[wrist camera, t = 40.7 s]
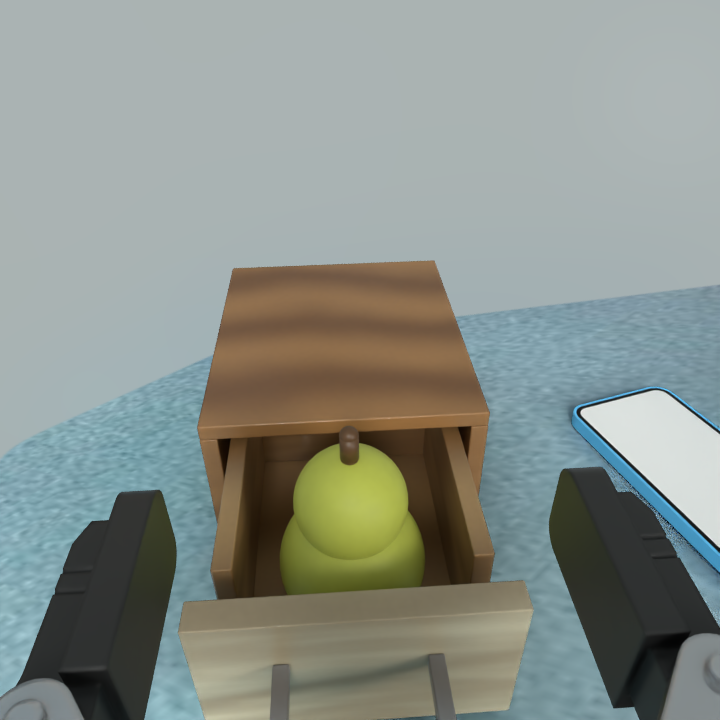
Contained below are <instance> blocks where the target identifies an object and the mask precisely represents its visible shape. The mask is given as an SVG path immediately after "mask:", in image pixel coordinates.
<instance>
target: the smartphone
mask: <svg viewBox="0 0 720 720" xmlns="http://www.w3.org/2000/svg"><path fill="white" fill-rule="evenodd" d="M572 425H573V427H574V428H575V429H576V430H577V431H578V432H579V433H580V434H581V435H582V436H583V437H584V438H585V439H586V440H587V441H588V442H589V443H590V444H591V445H592V446H593V447H594V448H595V449H596V450H597V451H598V452H599V453H600V454H601V455H602V456H603V457H604V458H605V459H606V460H607V461H608V462H609V463H610V464H611V465H612V466H613V467H614V468H615V469H616V470H617V471H618V472H619V473H620V474H621V475H622V476H623V477H624V478H625V479H626V480H627V481H628V482H629V483H630V484H631V485H632V486H633V487H634V488H635V489H636V490H637V491H638V492H639V493H640V494H641V495H642V496H643V497H644V498H645V499H646V500H647V501H648V502H649V503H650V504H651V505H652V506H653V507H654V508H655V509H656V510H657V511H658V512H659V513H660V514H661V515H662V516H663V517H664V518H665V519H666V520H667V521H668V522H669V523H670V524H671V525H672V526H673V527H674V528H675V529H676V530H677V531H678V532H679V533H680V534H681V535H682V536H684V537H685V538H686V539H687V540H688V541H689V542H690V543H691V544H692V545H693V546H694V547H695V548H696V549H697V550H698V551H699V552H700V553H701V554H702V555H703V556H704V557H705V558H706V559H707V560H708V561H709V562H710V563H711V564H712V565H713V566H714V567H715V568H716V569H717V570H718V571H719V572H720V428H718V427H717V426H716V425H714V424H713V423H712V422H710V421H709V420H708V419H707V418H705V417H704V416H703V415H701V414H700V413H699V412H697V411H696V410H695V409H694V408H692V407H691V406H690V405H688V404H687V403H686V402H684V401H683V400H682V399H680V398H679V397H678V396H677V395H675V394H674V393H673V392H671V391H669V390H667V389H665V388H661V387H647V388H643V389H639V390H635V391H631V392H628V393H624V394H620V395H616V396H612V397H608V398H604V399H601V400H597V401H593V402H589V403H585V404H581V405H578V406H577V407H575V409H574V411H573V416H572Z"/></svg>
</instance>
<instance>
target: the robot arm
mask: <svg viewBox="0 0 720 720" xmlns="http://www.w3.org/2000/svg"><path fill="white" fill-rule="evenodd" d="M549 532H550V540H551V544H552V548H553V551H554V553H555V556H556V559H557V561H558V564H559V567H560V569H561V572H562V574H563V577H564V580H565V582H566V585H567V588H568V590H569V593H570V595H571V598H572V601H573V603H574V606H575V608H576V611H577V614H578V616H579V619H580V622H581V624H582V627H583V629H584V632H585V635H586V637H587V640H588V643H589V645H590V648H591V650H592V653H593V656H594V658H595V661H596V664H597V666H598V669H599V671H600V674H601V677H602V679H603V682H604V685H605V687H606V690H607V692H608V695H609V698H610V700H611V703H612V706H613V708H625V707H635V710H636V712H637V715H638V717H639V720H720V627H719V626H718V624H717V622H716V620H715V619H714V617H713V615H712V613H711V612H710V610H709V608H708V606H707V605H706V603H705V601H704V600H703V598H702V596H701V594H700V593H699V591H698V589H697V587H696V586H695V584H694V582H693V580H692V579H691V577H690V575H689V573H688V572H687V570H686V568H685V566H684V565H683V563H682V561H681V559H680V558H678V557H677V552H676V551H675V549H674V547H673V545H672V544H671V542H670V540H669V539H667V538H666V533H665V532H664V530H663V528H662V526H661V525H660V523H659V521H658V519H657V518H656V516H655V514H654V512H653V511H652V510H651V509H650V508H649V507H648V506H647V505H645V504H644V503H643V502H642V501H641V500H640V499H639V498H638V497H636V496H635V495H634V494H633V493H632V492H617V490H616V489H615V487H614V485H613V483H612V481H611V479H610V477H609V475H608V474H607V472H606V471H605V469H603V468H602V467H587V468H569V469H563V470H562V471H561V474H560V477H559V481H558V485H557V490H556V494H555V498H554V502H553V506H552V510H551V515H550V520H549ZM176 557H177V551H176V541H175V537H174V533H173V529H172V526H171V522H170V519H169V515H168V512H167V508H166V505H165V501H164V498H163V494H162V492H161V491H160V490H149V491H131V492H121V493H119V494H118V496H117V498H116V500H115V503H114V506H113V509H112V512H111V515H110V518H109V520H104V521H92V522H91V523H90V524H89V525H88V526H87V527H86V529H85V530H84V531H83V532H82V533H81V534H80V536H79V537H78V538H77V539H76V540H75V541H74V543H73V544H72V546H71V549H70V551H69V554H68V557H67V559H66V562H65V564H64V567H63V574H61V575H60V578H59V580H58V583H57V585H56V588H55V595H53V596H52V598H51V601H50V604H49V606H48V609H47V612H46V614H45V617H44V619H43V622H42V625H41V627H40V630H39V632H38V635H37V638H36V640H35V643H34V646H33V648H32V651H31V653H30V656H29V659H28V661H27V664H26V666H25V669H24V672H23V674H22V676H21V678H20V680H19V682H18V683H17V685H16V686H15V687H14V688H12V689H11V690H9V691H8V692H6V693H5V694H4V695H2V696H1V697H0V720H144V718H145V713H146V708H147V703H148V699H149V694H150V689H151V684H152V680H153V675H154V670H155V665H156V660H157V656H158V651H159V646H160V641H161V636H162V632H163V627H164V622H165V617H166V613H167V608H168V603H169V598H170V593H171V589H172V584H173V579H174V574H175V569H176Z"/></svg>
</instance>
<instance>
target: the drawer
mask: <svg viewBox="0 0 720 720" xmlns="http://www.w3.org/2000/svg"><path fill="white" fill-rule="evenodd" d="M358 433H359V443H361V444H366V445H369V446H372V447H374V448H376V449H378V450H380V451H381V452H383V453H384V454H386V455H387V456H388V457H389V458H390V459H391V460H392V461H393V462H394V463H395V464H396V466H397V467H398V468H399V470H400V472H401V474H402V476H403V478H404V480H405V483H406V487H407V492H408V511H409V512H410V514H411V515H412V516H413V518H414V520H415V521H416V523H417V526H418V528H419V530H420V533H421V536H422V540H423V544H424V549H425V570H424V576H423V580H422V584H421V586H420V587H410V588H394V589H378V590H363V591H347V592H331V593H315V594H299V595H288V594H287V592H286V590H285V588H284V585H283V582H282V577H281V572H280V549H281V543H282V539H283V535H284V532H285V530H286V528H287V525H288V523H289V521H290V520H291V518H292V517H293V515H294V509H293V496H294V489H295V485H296V482H297V479H298V477H299V475H300V473H301V471H302V470H303V468H304V467H305V465H306V464H307V463H308V462H309V461H310V460H311V459H312V458H313V457H314V456H315V455H316V454H317V453H319V452H320V451H322V450H324V449H326V448H328V447H330V446H333V445H336V444H339V433H328V434H309V435H289V436H270V437H250V438H231V441H230V447H229V454H228V460H227V467H226V473H225V480H224V486H223V493H222V499H221V505H220V512H219V518H218V525H217V531H216V538H215V544H214V550H213V557H212V563H211V570H210V572H211V576H212V580H213V584H214V588H215V593H216V597H217V600H204V601H188V602H184V603H183V608H182V614H181V619H180V624H179V630H178V634H179V638H180V641H181V644H182V647H183V650H184V654H185V657H186V660H187V663H188V667H189V670H190V673H191V676H192V679H193V683H194V686H195V689H196V692H197V695H198V699H199V702H200V705H201V708H202V711H203V715H204V718H205V720H379V719H393V718H406V717H420V716H434V715H436V720H457V719H456V714H462V713H475V712H489V711H503V710H509V707H510V703H511V699H512V695H513V691H514V687H515V683H516V679H517V675H518V671H519V667H520V663H521V659H522V655H523V651H524V647H525V643H526V638H527V634H528V630H529V626H530V622H531V618H532V614H533V610H534V609H533V606H532V603H531V600H530V597H529V594H528V591H527V588H526V584H525V582H524V581H523V580H521V581H505V582H490V578H491V572H492V567H493V561H494V555H495V553H494V549H493V546H492V542H491V539H490V535H489V532H488V529H487V525H486V522H485V518H484V515H483V511H482V508H481V505H480V501H479V498H478V494H477V491H476V487H475V484H474V480H473V477H472V474H471V470H470V467H469V463H468V460H467V456H466V453H465V450H464V446H463V443H462V439H461V436H460V432H459V429H458V427H444V428H425V429H405V430H386V431H367V432H358Z"/></svg>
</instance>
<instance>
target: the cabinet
mask: <svg viewBox="0 0 720 720" xmlns="http://www.w3.org/2000/svg"><path fill="white" fill-rule="evenodd" d="M489 415H490V412H489V409H488V407H487V404H486V401H485V398H484V396H483V393H482V390H481V387H480V385H479V382H478V379H477V376H476V374H475V371H474V368H473V365H472V363H471V360H470V357H469V354H468V352H467V349H466V346H465V343H464V341H463V338H462V335H461V332H460V330H459V327H458V324H457V321H456V319H455V316H454V313H453V311H452V308H451V305H450V302H449V300H448V297H447V294H446V291H445V289H444V286H443V283H442V280H441V278H440V275H439V272H438V270H437V267H436V264H435V261H411V262H384V263H361V264H360V263H359V264H335V265H334V264H333V265H307V266H285V267H284V266H283V267H258V268H234V269H233V271H232V275H231V280H230V285H229V289H228V293H227V298H226V302H225V307H224V311H223V315H222V320H221V324H220V329H219V333H218V338H217V342H216V347H215V351H214V355H213V360H212V364H211V369H210V373H209V377H208V382H207V386H206V391H205V395H204V400H203V404H202V409H201V413H200V417H199V422H198V426H197V429H198V434H199V438H200V444H201V449H202V454H203V458H204V463H205V468H206V472H207V477H208V482H209V487H210V491H211V496H212V501H213V506H214V510H215V515H216V520H217V524H218V518H219V512H220V505H221V499H222V493H223V486H224V480H225V473H226V467H227V460H228V454H229V447H230V441H231V438H250V437H270V436H289V435H309V434H328V433H340V430H341V429H342V428H343V427H345V426H353V427H354V428H356V429H357V431H358V432H367V431H386V430H405V429H425V428H444V427H458V429H459V432H460V436H461V439H462V443H463V446H464V450H465V453H466V456H467V460H468V463H469V467H470V470H471V474H472V477H473V480H474V484H475V487H476V491H477V494H478V496H479V489H480V482H481V474H482V467H483V460H484V453H485V445H486V438H487V431H488V422H489Z"/></svg>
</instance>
